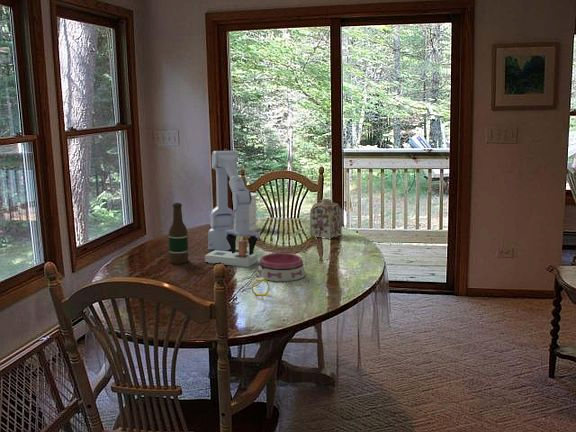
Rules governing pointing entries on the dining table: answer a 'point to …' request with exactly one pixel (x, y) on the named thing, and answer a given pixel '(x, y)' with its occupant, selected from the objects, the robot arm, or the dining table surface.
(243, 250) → the peg
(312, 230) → the decorative jar
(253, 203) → the decorative container
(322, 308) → the dining table surface
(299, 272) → the dog bowl
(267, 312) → the dining table surface
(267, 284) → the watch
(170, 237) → the beer bottle
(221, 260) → the hole block
